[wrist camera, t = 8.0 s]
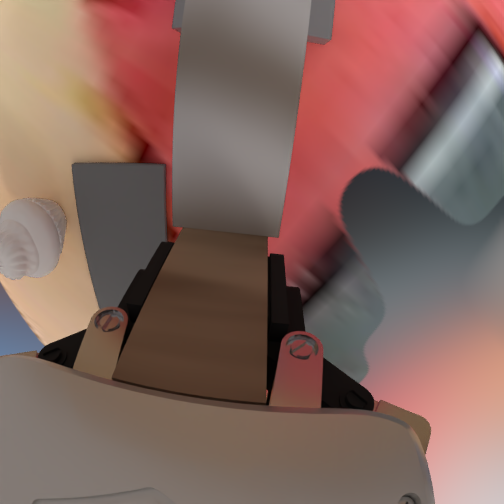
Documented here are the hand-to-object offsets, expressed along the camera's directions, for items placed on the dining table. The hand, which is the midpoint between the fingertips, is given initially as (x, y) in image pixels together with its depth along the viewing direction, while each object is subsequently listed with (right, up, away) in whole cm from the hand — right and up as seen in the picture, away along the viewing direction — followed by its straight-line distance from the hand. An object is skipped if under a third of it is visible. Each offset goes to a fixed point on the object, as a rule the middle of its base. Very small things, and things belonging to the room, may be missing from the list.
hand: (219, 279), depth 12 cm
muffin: (-15, +4, +7) cm, 17 cm away
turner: (+1, +6, -2) cm, 6 cm away
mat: (-8, 0, +9) cm, 12 cm away
